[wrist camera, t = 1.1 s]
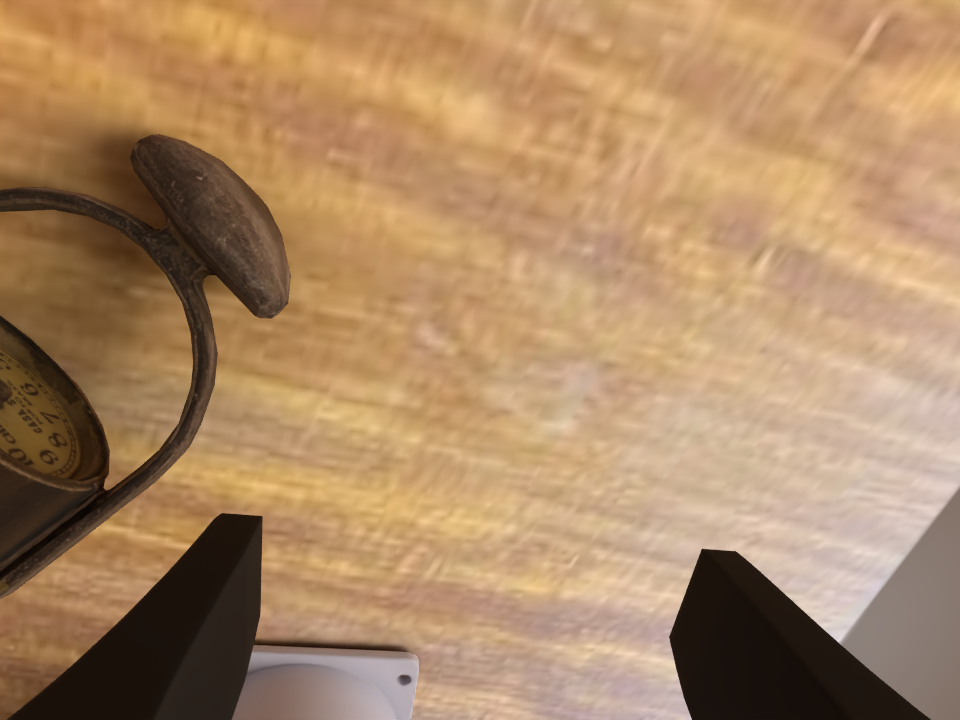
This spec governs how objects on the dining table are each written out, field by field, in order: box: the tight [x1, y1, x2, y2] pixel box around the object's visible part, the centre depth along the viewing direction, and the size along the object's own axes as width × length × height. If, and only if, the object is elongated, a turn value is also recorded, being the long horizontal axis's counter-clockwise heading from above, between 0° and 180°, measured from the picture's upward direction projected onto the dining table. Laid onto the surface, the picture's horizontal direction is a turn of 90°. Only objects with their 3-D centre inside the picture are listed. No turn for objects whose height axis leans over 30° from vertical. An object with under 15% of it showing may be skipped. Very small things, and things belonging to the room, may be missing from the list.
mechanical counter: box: [0, 134, 291, 599], centre depth 16 cm, size 7×13×10 cm
